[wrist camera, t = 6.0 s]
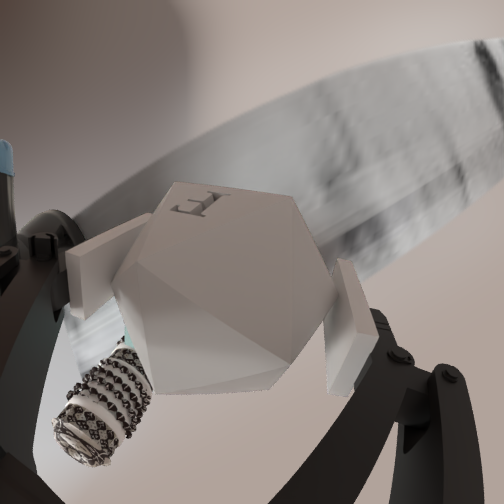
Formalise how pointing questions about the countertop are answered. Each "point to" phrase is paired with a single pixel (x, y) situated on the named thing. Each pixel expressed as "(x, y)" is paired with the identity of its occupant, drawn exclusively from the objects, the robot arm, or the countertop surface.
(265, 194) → the die
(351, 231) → the countertop surface
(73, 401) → the decorative candle
